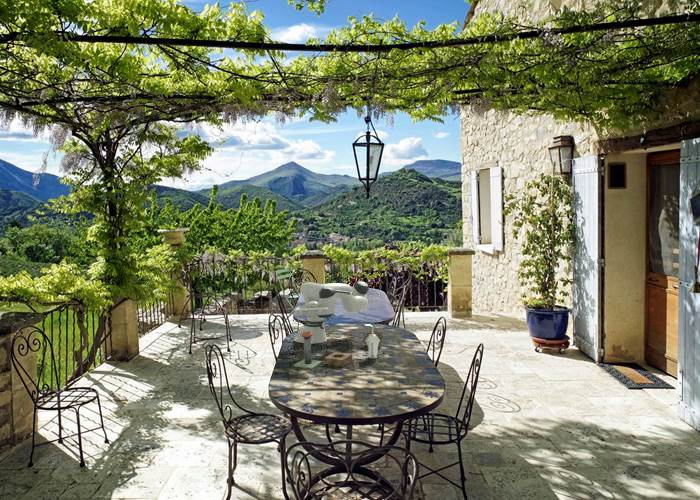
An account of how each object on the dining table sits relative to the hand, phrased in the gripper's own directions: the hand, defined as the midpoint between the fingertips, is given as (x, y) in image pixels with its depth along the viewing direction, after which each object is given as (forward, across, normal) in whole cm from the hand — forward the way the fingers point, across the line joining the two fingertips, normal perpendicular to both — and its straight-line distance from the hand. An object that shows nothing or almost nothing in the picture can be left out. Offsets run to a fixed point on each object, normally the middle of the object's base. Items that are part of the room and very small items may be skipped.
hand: (310, 313), depth 308 cm
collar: (+5, -15, -29) cm, 33 cm away
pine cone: (-28, -32, -27) cm, 51 cm away
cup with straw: (-4, -35, -29) cm, 46 cm away
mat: (+6, +2, -28) cm, 29 cm away
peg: (+7, +2, -27) cm, 28 cm away
